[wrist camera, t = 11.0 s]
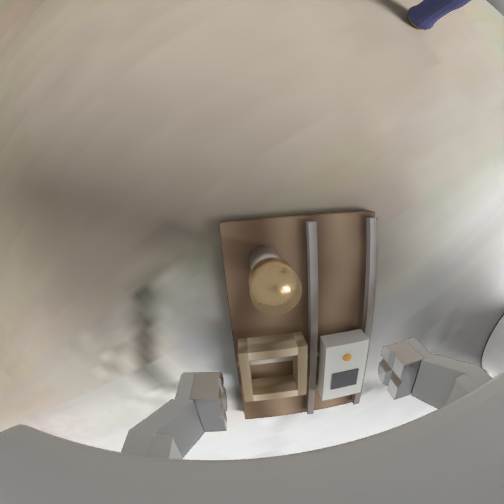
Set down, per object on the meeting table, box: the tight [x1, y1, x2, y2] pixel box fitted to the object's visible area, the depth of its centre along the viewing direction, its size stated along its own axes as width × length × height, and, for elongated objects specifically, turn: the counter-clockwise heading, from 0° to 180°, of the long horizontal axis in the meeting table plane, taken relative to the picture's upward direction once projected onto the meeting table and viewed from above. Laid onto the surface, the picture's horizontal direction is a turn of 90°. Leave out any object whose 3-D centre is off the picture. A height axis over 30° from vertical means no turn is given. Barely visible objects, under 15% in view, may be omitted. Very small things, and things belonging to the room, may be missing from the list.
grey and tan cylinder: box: [249, 245, 302, 315], centre depth 23 cm, size 4×4×8 cm
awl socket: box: [238, 332, 308, 402], centre depth 28 cm, size 7×7×3 cm
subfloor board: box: [219, 211, 377, 419], centre depth 29 cm, size 16×26×2 cm, turn 5°
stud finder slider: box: [317, 329, 369, 401], centre depth 28 cm, size 5×8×3 cm, turn 5°
